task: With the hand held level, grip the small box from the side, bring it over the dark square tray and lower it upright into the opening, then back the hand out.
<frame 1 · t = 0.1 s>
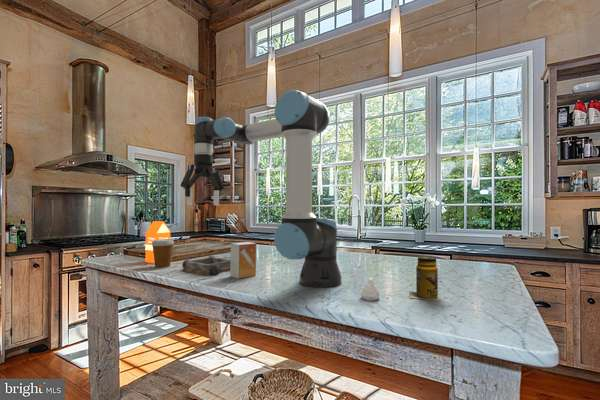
hand: (203, 205, 129), 28 cm above the counter, tool pointing down, fingers open, 13 cm apart
condiment: (423, 297, 94), on the counter
garlic bulb: (370, 298, 92), on the counter
orange juice: (157, 261, 153), on the counter
disposable coffee cup: (162, 266, 140), on the counter
dark square tray: (213, 269, 134), on the counter
small box: (243, 276, 121), on the counter
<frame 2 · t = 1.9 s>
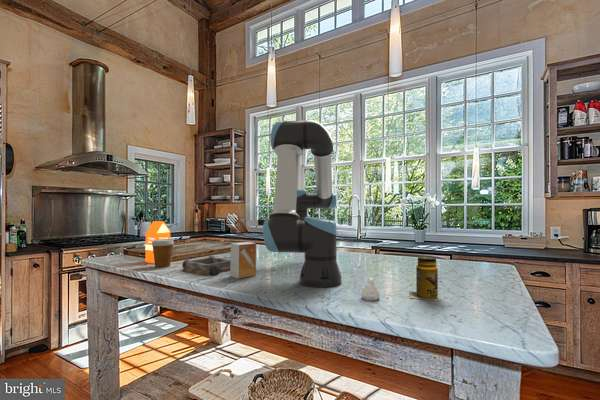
hand: (259, 224, 129), 20 cm above the counter, tool horizontal, fingers open, 13 cm apart
nothing on the counter moved.
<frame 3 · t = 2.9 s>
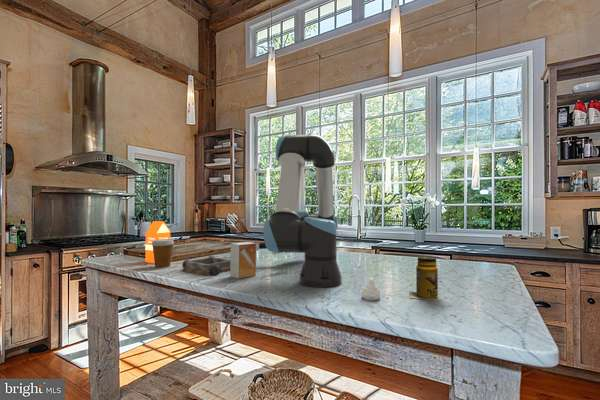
hand: (260, 249, 130), 9 cm above the counter, tool horizontal, fingers open, 13 cm apart
nothing on the counter moved.
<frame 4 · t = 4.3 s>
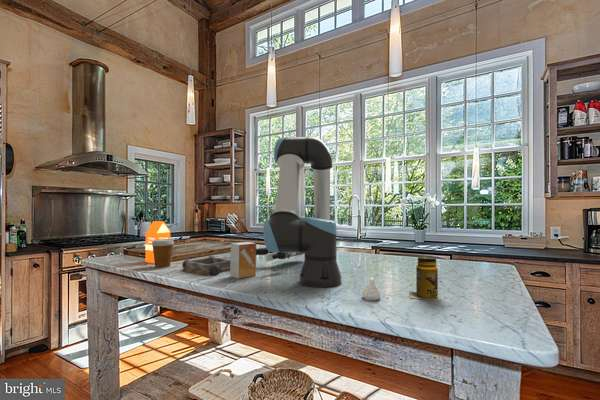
hand: (253, 256, 127), 7 cm above the counter, tool horizontal, fingers open, 13 cm apart
nothing on the counter moved.
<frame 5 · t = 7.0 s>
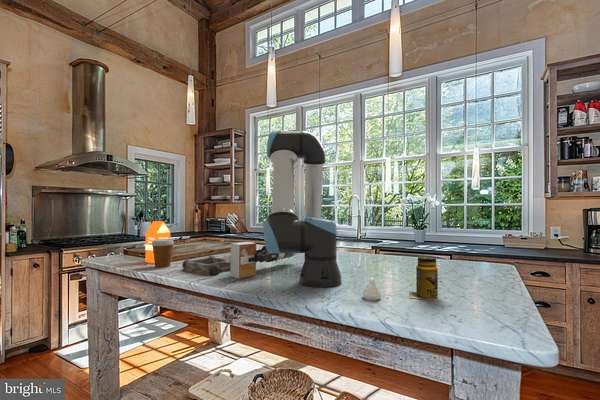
hand: (233, 260, 117), 7 cm above the counter, tool horizontal, fingers closed on small box, 7 cm apart
small box: (243, 276, 121), on the counter, touching gripper
everything else where it was.
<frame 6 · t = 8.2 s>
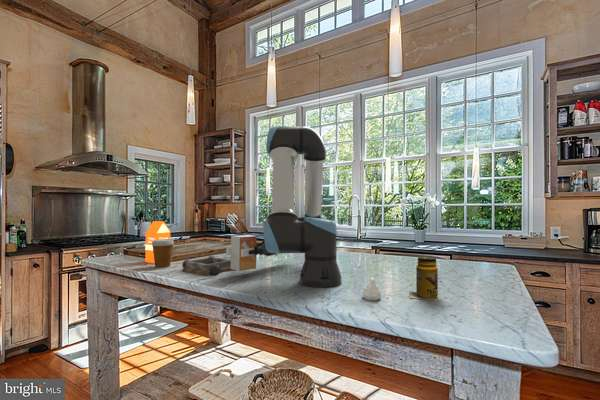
hand: (234, 252, 117), 10 cm above the counter, tool horizontal, fingers closed on small box, 7 cm apart
small box: (243, 269, 121), point 3 cm above the counter, touching gripper
everything else where it was.
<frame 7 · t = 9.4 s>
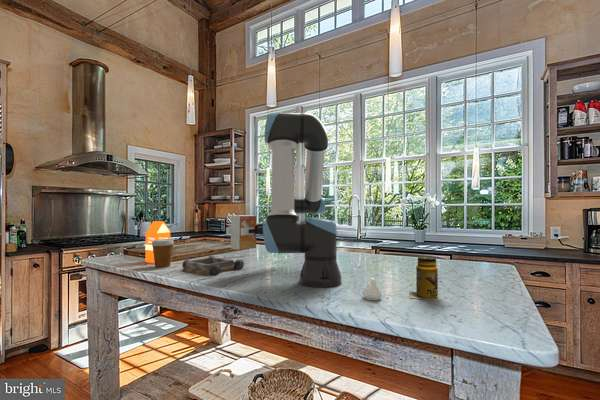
hand: (234, 231, 117), 18 cm above the counter, tool horizontal, fingers closed on small box, 7 cm apart
small box: (243, 248, 121), point 11 cm above the counter, touching gripper
everything else where it was.
when the fingers open (9 cm above the counter, at t = 13.4 s): small box stays where it is, resting on dark square tray.
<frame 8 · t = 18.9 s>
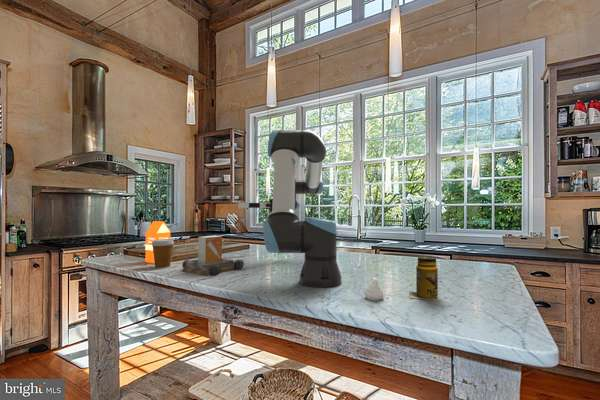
hand: (249, 205, 141), 28 cm above the counter, tool horizontal, fingers open, 13 cm apart
small box: (210, 267, 132), point 1 cm above the counter, touching dark square tray
at the end: small box 0.1 cm from the target spot on the dark square tray, point 1.3 cm above the dark square tray's base; small box tilted 0°; the gripper is holding nothing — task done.
